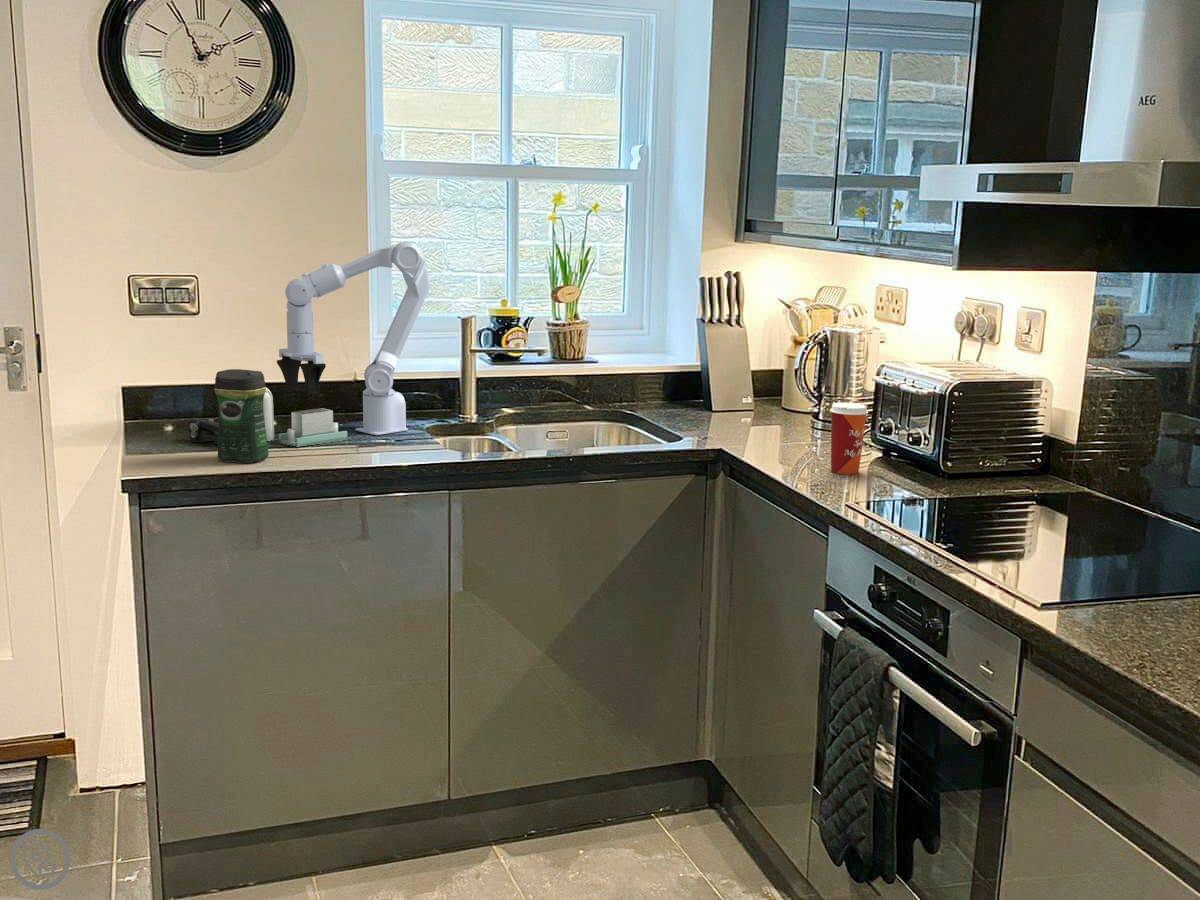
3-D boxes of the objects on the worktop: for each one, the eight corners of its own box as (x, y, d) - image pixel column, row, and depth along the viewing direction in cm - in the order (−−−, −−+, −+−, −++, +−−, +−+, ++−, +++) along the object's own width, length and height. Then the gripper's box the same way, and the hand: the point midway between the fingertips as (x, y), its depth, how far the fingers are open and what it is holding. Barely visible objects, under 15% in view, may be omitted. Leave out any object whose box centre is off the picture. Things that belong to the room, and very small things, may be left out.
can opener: (179, 442, 253) (178, 417, 252) (207, 437, 259) (205, 413, 258) (231, 454, 243) (230, 427, 242) (258, 448, 249) (257, 423, 248)
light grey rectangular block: (322, 434, 260) (322, 407, 259) (333, 437, 258) (332, 410, 257) (292, 439, 255) (291, 411, 253) (302, 441, 252) (301, 414, 251)
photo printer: (239, 435, 261) (237, 381, 258) (257, 433, 264) (255, 379, 261) (258, 443, 253) (256, 387, 251) (277, 441, 256) (275, 385, 253)
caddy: (328, 435, 263) (328, 420, 263) (347, 440, 259) (347, 424, 258) (278, 443, 254) (278, 427, 253) (297, 448, 249) (297, 432, 249)
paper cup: (856, 477, 235) (861, 409, 233) (820, 472, 239) (824, 405, 237) (869, 470, 242) (874, 404, 239) (834, 465, 246) (838, 400, 243)
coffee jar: (274, 457, 240) (271, 368, 236) (253, 465, 232) (250, 373, 228) (233, 454, 242) (229, 365, 238) (211, 461, 235) (207, 370, 231)
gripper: (266, 330, 263) (268, 389, 266) (303, 336, 253) (305, 398, 256) (293, 328, 268) (295, 386, 271) (330, 334, 259) (331, 394, 261)
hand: (301, 392), depth 264 cm, fingers open, 7 cm apart
